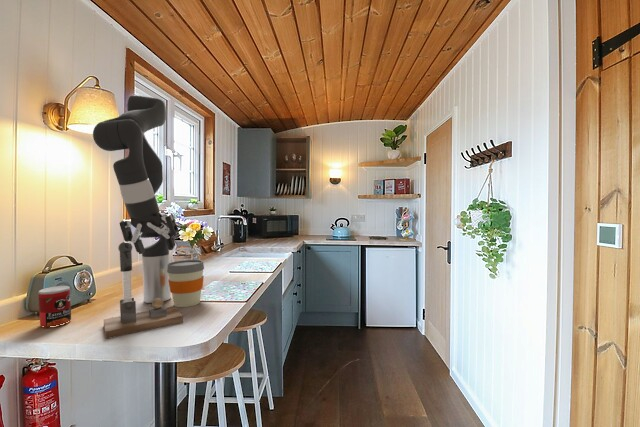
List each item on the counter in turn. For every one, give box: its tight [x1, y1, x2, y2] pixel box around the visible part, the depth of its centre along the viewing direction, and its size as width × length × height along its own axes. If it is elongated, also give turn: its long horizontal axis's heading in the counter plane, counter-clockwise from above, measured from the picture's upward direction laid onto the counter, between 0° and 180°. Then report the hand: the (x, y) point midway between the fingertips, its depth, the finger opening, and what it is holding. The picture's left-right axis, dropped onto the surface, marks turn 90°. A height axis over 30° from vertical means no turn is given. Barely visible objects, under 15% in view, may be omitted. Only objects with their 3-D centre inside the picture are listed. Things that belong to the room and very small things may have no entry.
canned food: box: [38, 285, 72, 327], centre depth 103 cm, size 8×8×11 cm
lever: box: [117, 241, 133, 303], centre depth 98 cm, size 4×4×20 cm
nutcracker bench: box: [103, 297, 184, 339], centre depth 101 cm, size 12×20×8 cm, turn 125°
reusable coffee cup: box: [167, 259, 205, 308], centre depth 121 cm, size 13×13×15 cm
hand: (157, 250), depth 94 cm, fingers open, 8 cm apart
